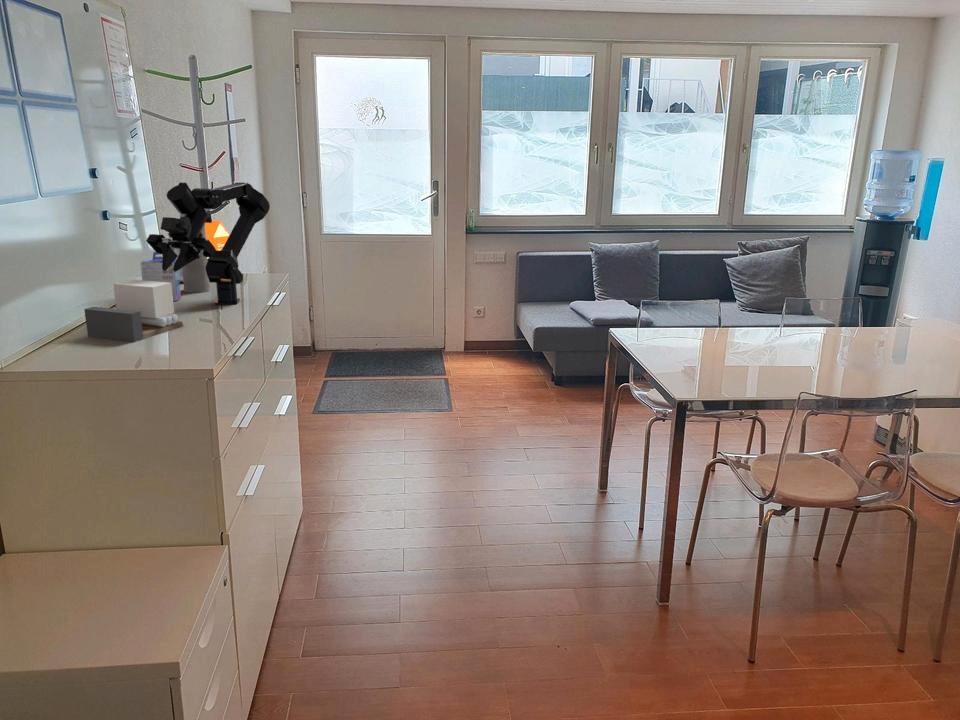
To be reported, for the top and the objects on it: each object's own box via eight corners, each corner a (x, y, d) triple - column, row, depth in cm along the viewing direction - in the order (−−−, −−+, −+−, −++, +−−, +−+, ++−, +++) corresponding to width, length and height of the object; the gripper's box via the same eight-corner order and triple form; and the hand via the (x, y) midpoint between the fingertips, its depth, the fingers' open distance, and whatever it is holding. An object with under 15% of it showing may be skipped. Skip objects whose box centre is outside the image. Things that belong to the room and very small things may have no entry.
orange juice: (216, 273, 278) (212, 218, 273) (233, 275, 274) (229, 220, 268) (199, 276, 272) (195, 220, 266) (216, 278, 267) (212, 221, 262)
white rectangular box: (133, 317, 201) (129, 279, 198) (178, 322, 197) (175, 283, 194) (114, 323, 195) (109, 283, 192) (160, 327, 191) (156, 287, 188)
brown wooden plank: (139, 321, 203) (138, 317, 203) (182, 325, 199) (182, 321, 199) (87, 336, 187) (87, 331, 186) (134, 341, 183) (134, 337, 182)
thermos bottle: (199, 287, 251) (192, 202, 244) (215, 290, 247) (208, 203, 239) (179, 290, 245) (171, 203, 237) (194, 293, 241) (187, 204, 233)
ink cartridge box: (181, 297, 234) (177, 251, 230) (178, 301, 229) (173, 254, 225) (148, 298, 232) (143, 251, 228) (143, 301, 227) (138, 254, 223)
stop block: (96, 333, 189) (93, 306, 187) (143, 339, 185) (140, 311, 184) (87, 336, 187) (84, 309, 185) (134, 341, 183) (131, 313, 181)
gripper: (147, 204, 205) (122, 249, 198) (206, 207, 200) (182, 254, 193) (169, 230, 214) (146, 274, 207) (225, 234, 209) (204, 279, 202)
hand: (168, 270), depth 202 cm, fingers open, 3 cm apart
